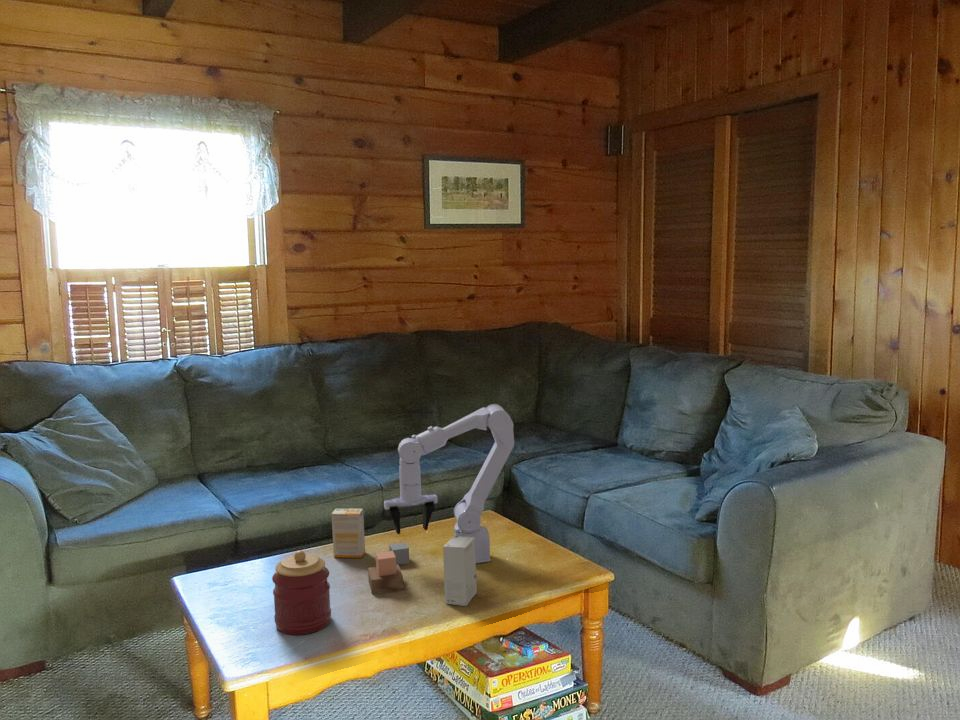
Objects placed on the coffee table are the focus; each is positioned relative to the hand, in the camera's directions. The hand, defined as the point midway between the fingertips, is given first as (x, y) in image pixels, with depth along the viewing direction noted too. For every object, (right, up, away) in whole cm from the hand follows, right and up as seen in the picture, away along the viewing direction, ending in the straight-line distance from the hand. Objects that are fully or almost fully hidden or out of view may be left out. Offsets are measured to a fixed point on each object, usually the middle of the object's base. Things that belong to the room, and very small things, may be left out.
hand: (411, 530), depth 221 cm
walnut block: (-6, -12, -12) cm, 18 cm away
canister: (-23, -15, -32) cm, 42 cm away
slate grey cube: (-4, -9, +3) cm, 10 cm away
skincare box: (+14, -13, -21) cm, 28 cm away
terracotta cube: (-5, -8, -13) cm, 16 cm away
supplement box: (-18, -9, +8) cm, 22 cm away
